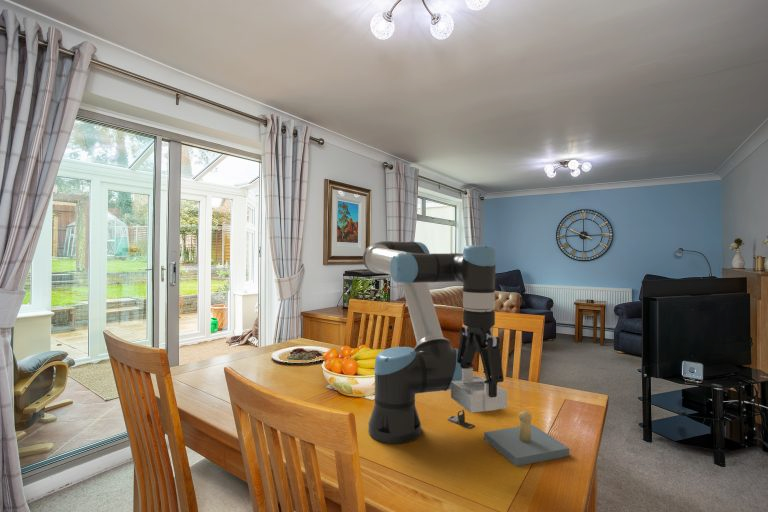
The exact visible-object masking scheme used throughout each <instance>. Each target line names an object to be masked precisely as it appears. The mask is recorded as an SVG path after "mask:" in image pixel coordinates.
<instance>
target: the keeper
mask: <svg viewBox="0 0 768 512" xmlns="http://www.w3.org/2000/svg"><path fill="white" fill-rule="evenodd" d="M518 419H519V426H515V427H508V428H502V429H495V430H488V431H484V432H483V439H484V441H485V442H487V444H489V445H490V446H491V447H492V448H493V449H495V450H496V451H497V452H498V453H500V454H501V455H502V456H503V457H505V458H506V459H507V460H508V461H509V462H510V463H511V464H513V465H514V466H515V467H519V466H526V465H530V464H535V463H539V462H540V463H541V462H545V461H551V460H556V459H560V458H565V457H569V456H570V447H569V446H567V445H565V444H564V443H562V442H561V441H559V440H557V439H556V438H555V437H553V436H551V435H549V434H548V433H546V432H545V431H543V430H542V429H540V428H539V427H537V426H535V424H532V414H531V413H530V412H529V411H526V410H522V411H520V412H519V414H518Z"/></svg>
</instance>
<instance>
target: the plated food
mask: <svg viewBox="0 0 768 512" xmlns="http://www.w3.org/2000/svg"><path fill="white" fill-rule="evenodd" d="M330 349H331V348H328V347H323V346H316V345H315V346H314V345H313V346H312V345H305V346H303V345H302V346H291V347H286V348H282V349H279V350H276V351H274V352H272V354H271V359H273V360H274V361H277V362H280V363H281V362H282V363H285V362H287V364H293V363H303V364H308V363H307V362H288V361H283V360H280V359H279V356H281V355H282V354H284V353H287V352H290V351H292V352H290V354H291V355H289V356H286V358H287V359H288V360H302V361H303V360H305V361H306V360H312V359H315V358H316V356H317V357H319V356H323V355H322V353H320V352H319V351H322V352H327V351H328V350H330ZM306 350H312V351H306ZM317 350H318V351H317ZM320 360H321V361H324V360H323V359H319V360H315V361H309V362H312V363H317V362H321V361H320ZM316 361H317V362H316Z"/></svg>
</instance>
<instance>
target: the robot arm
mask: <svg viewBox="0 0 768 512" xmlns="http://www.w3.org/2000/svg"><path fill="white" fill-rule="evenodd" d="M495 249H496V248H494V247H493V246H491V245H465V246H464V247H463V252H462V253H457V252H453V253H452V252H451V253H430V251H429V249H428V247H427V245H425V243H422V242H421V241H414V240H410V241H393V240H392V241H389V240H388V241H387V240H386V241H379V242H374V243H372V244H370V245H369V246H367V248H365V250H364V252H363V257H362V261H363V264H364V267H365V268H366V270H368V271H370V272H372V273H375V274H383V275H384V274H385V275H389V276H390V277H391V278H392V280H393V281H394V282H395V283H399V284H401V285H402V289H403V292H404V298H405V301H406V306H407V308H408V309H407V310H408V314H409V316H410V322H411V325H412V329H413V334H414V336H415V342H416V345H415V347H414V348H413V347H410V346H395V347H394V346H393V347H389V348H386V349H383V350H381V351H380V352H378V353H377V355H376V356H375V361H374V367H373V369H374V370H373V373H374V406H373V408H372V411H371V415H370V417H369V421H368V434H369V436H371V437H372V438H373V439H374V440H377V441H379V442H381V443H386V444H405V443H409V442H412V441H414V440H416V439H418V438H419V437H420V436H421V433H422V423H421V419H420V416H419V413H418V410H417V407H416V394H424V393H434V392H441V391H444V392H446V391H449V390H450V391H451V381H460V380H470V379H473V376H474V368H473V367H474V364H473V361H474V358H475V355H476V352H477V353H478V354H479V355H480V360H481V363H482V367H483V371H484V376H485V378H486V381H484V410H485V411H484V412H490V411H491V412H492V411H496V410H497V409H496V397H497V385H498V383H503V382H504V381H505V380H504V379H505V378H504V371H503V365H502V359H501V358H502V357H501V350H500V342H501V341H500V337H499V336H493V335H492V332H491V329H492V327H494V326H495V325H496V312H495V311H494V309H495V307H496V302H495V300H496V299H495V298H496V296H495V295H496V293H495V292H496V265H497V261H496V253H495V251H496V250H495ZM428 283H462V308H464V309H463V310H462V324H463V325H464V326H461V327H459V330H460V331H459V332H460V333H459V334H460V337H459V343H458V348H453V347H452V344H451V341H450V340H449V338H446V337H444V334H443V331H442V328H441V325H440V321H439V317H438V314H437V312H436V311H437V310H436V308H435V304H434V301H433V298H432V294H431V291H430V287H429V284H428Z"/></svg>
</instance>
